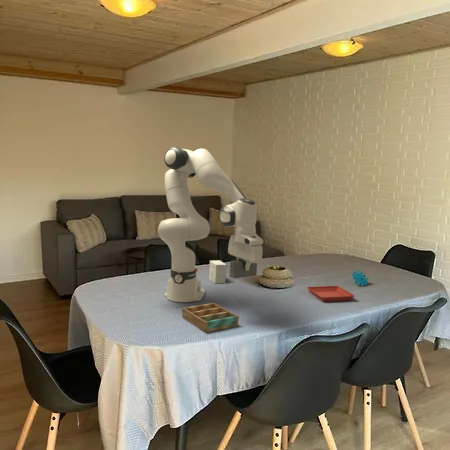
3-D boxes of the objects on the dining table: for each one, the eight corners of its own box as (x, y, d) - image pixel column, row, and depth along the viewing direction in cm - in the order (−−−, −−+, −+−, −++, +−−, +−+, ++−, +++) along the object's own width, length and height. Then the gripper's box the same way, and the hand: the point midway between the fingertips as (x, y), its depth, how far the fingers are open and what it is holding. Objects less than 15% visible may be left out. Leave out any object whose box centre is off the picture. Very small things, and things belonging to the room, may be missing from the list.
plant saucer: (305, 292, 242) (306, 286, 242) (337, 291, 247) (337, 285, 246) (321, 303, 225) (321, 297, 224) (354, 302, 229) (355, 295, 229)
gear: (355, 284, 254) (351, 268, 259) (350, 289, 258) (345, 274, 264) (372, 286, 257) (367, 270, 263) (366, 291, 262) (361, 275, 267)
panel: (233, 278, 195) (234, 262, 194) (229, 276, 197) (230, 260, 196) (256, 275, 202) (257, 259, 200) (252, 273, 204) (253, 258, 203)
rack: (204, 332, 182) (205, 322, 182) (182, 317, 198) (182, 308, 197) (238, 325, 191) (238, 316, 190) (214, 311, 207) (214, 302, 206)
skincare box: (226, 283, 252) (227, 264, 250) (215, 283, 250) (215, 264, 248) (219, 278, 262) (220, 259, 260) (208, 278, 259) (209, 260, 258)
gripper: (225, 233, 203) (224, 264, 206) (253, 242, 187) (251, 275, 189) (237, 232, 207) (235, 262, 209) (265, 241, 190) (263, 273, 192)
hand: (243, 268), depth 199 cm, fingers closed on panel, 3 cm apart
